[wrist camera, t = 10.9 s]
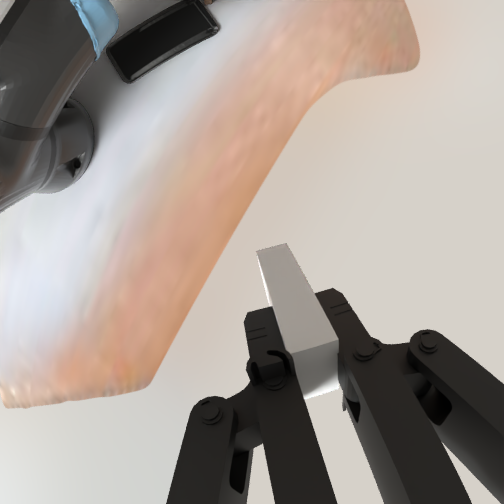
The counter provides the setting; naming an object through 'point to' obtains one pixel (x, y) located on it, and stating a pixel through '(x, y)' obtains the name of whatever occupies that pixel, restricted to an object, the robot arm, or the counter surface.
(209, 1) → the low shelf
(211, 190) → the counter surface
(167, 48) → the phone
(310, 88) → the counter surface
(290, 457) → the robot arm
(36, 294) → the counter surface
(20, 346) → the counter surface
